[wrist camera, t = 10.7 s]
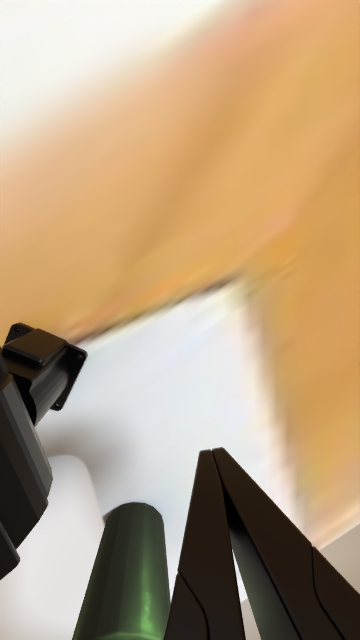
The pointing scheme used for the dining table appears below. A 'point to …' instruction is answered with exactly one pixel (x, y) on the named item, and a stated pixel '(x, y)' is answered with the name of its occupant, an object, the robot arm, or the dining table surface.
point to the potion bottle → (128, 579)
